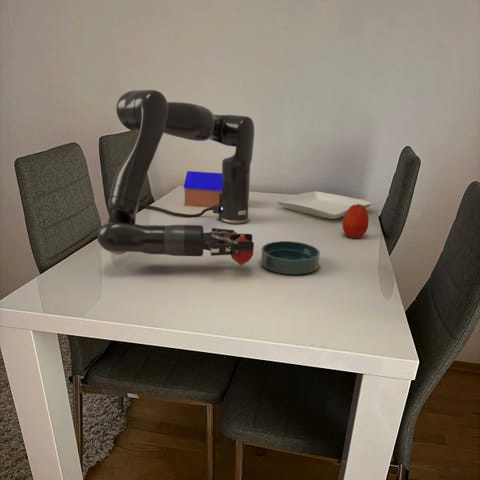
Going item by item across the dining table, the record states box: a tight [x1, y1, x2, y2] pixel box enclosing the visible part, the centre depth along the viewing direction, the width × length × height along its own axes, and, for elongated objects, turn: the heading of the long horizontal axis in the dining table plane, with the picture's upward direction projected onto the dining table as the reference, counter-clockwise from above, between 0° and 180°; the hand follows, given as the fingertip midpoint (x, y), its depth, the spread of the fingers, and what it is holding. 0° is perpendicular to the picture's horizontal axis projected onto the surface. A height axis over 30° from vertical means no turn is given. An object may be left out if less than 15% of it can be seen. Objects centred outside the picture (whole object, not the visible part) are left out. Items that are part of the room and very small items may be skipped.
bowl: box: [260, 240, 321, 275], centre depth 120 cm, size 15×15×4 cm
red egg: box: [341, 204, 370, 239], centre depth 144 cm, size 8×8×11 cm
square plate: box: [275, 190, 374, 220], centre depth 173 cm, size 27×27×4 cm
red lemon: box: [230, 235, 254, 266], centre depth 113 cm, size 6×6×8 cm
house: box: [183, 170, 222, 208], centre depth 174 cm, size 12×20×12 cm, turn 81°
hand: (252, 242), depth 112 cm, fingers closed on red lemon, 5 cm apart
